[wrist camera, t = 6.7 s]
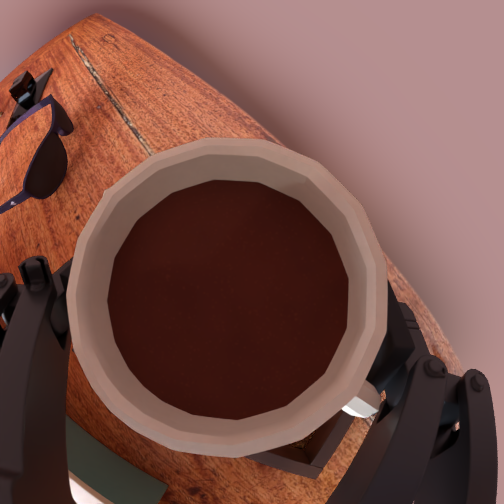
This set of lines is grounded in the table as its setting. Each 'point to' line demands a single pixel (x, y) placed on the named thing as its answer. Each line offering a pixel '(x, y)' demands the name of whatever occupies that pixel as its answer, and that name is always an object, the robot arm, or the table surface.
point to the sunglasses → (44, 156)
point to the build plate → (27, 92)
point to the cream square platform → (105, 473)
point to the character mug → (228, 298)
